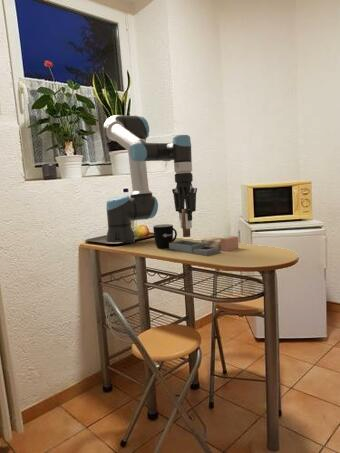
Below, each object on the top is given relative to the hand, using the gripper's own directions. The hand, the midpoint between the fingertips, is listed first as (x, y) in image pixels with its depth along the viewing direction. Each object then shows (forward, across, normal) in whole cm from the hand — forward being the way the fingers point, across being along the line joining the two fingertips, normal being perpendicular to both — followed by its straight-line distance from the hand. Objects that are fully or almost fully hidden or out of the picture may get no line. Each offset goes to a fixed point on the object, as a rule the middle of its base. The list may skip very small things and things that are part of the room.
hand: (186, 227), depth 154 cm
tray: (+10, 0, 0) cm, 10 cm away
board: (+10, +7, +11) cm, 16 cm away
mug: (+10, -13, 0) cm, 16 cm away
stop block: (+10, +14, +11) cm, 20 cm away
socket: (+10, +11, 0) cm, 15 cm away
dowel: (+4, 0, 0) cm, 4 cm away
